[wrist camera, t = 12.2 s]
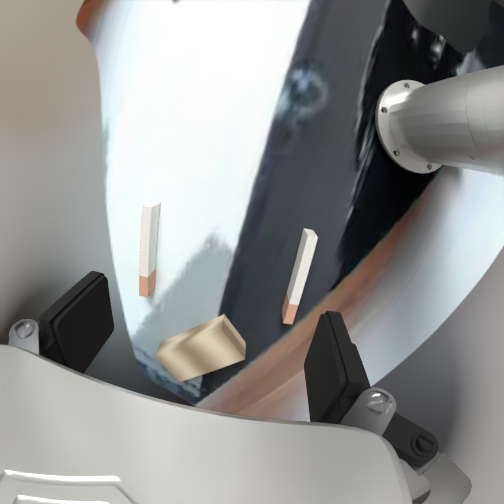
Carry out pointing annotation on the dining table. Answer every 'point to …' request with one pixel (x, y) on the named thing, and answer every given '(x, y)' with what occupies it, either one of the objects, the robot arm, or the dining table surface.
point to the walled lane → (150, 247)
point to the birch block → (202, 349)
